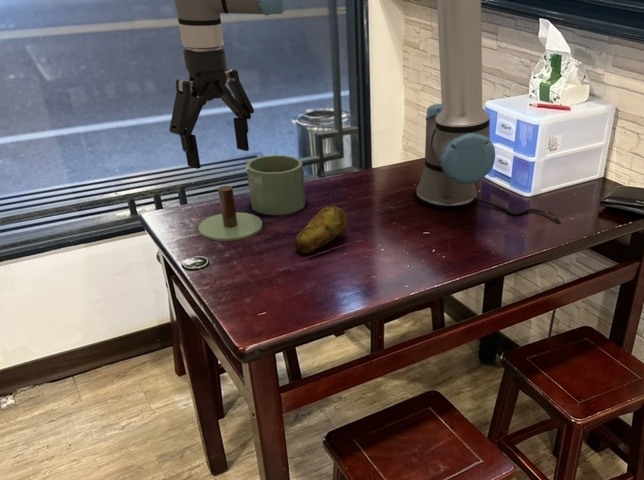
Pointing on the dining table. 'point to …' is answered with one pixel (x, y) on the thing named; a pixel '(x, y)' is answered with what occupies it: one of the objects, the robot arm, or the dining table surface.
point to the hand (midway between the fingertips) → (219, 158)
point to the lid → (229, 220)
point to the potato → (321, 229)
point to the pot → (276, 184)
